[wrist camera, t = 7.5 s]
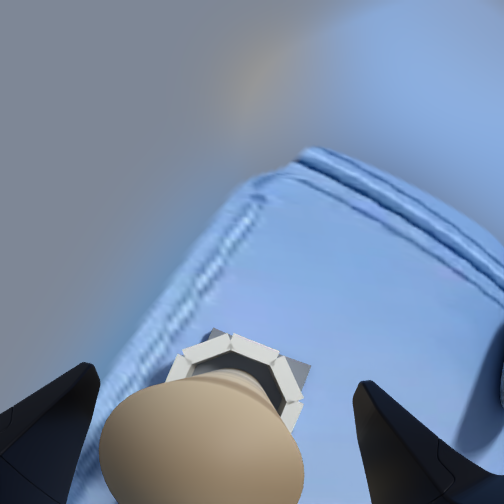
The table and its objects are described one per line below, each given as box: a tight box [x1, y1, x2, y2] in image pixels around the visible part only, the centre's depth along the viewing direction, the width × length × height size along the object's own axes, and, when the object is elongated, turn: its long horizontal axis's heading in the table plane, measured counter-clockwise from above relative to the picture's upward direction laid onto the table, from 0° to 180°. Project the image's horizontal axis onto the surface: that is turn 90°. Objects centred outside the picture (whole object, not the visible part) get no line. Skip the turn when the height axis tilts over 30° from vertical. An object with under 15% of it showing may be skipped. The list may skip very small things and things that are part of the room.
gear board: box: [165, 328, 311, 434], centre depth 13 cm, size 20×8×4 cm, turn 158°
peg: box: [99, 368, 304, 504], centre depth 10 cm, size 4×4×13 cm
